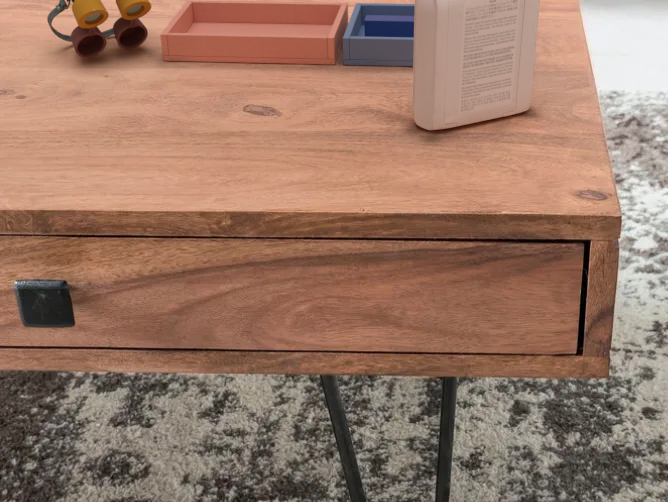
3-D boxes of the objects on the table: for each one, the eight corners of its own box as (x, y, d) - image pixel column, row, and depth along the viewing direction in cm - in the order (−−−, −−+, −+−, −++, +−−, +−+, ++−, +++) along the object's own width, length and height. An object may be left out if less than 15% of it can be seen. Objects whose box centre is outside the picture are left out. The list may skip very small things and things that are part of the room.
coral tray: (163, 60, 98) (159, 34, 97) (190, 25, 107) (187, 0, 105) (334, 64, 97) (333, 37, 95) (348, 28, 105) (347, 2, 103)
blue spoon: (362, 48, 98) (362, 25, 97) (368, 32, 102) (367, 10, 101) (497, 51, 97) (498, 27, 96) (497, 35, 101) (499, 12, 99)
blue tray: (343, 64, 97) (342, 38, 95) (356, 28, 105) (355, 2, 103) (521, 69, 95) (523, 41, 93) (520, 31, 103) (522, 5, 101)
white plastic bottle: (510, 95, 90) (520, -56, 83) (538, 112, 87) (552, -43, 79) (404, 118, 86) (405, -37, 79) (429, 137, 83) (433, -23, 76)
